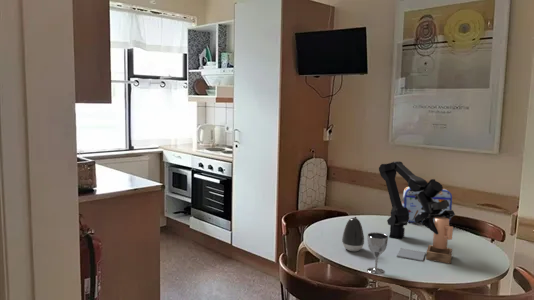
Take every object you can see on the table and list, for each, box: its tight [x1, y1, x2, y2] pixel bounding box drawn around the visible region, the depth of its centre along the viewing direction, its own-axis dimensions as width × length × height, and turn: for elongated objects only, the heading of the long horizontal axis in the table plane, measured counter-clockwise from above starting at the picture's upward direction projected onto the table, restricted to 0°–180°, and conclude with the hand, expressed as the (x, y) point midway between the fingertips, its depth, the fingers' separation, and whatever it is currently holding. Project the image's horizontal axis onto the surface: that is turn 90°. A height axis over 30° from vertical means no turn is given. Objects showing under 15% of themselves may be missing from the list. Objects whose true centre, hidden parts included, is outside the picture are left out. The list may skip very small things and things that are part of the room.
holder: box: [425, 244, 453, 264], centre depth 188 cm, size 10×10×4 cm
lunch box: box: [401, 186, 453, 224], centre depth 242 cm, size 28×10×22 cm, turn 78°
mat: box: [396, 247, 427, 262], centre depth 190 cm, size 11×11×1 cm
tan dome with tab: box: [432, 217, 454, 249], centre depth 185 cm, size 9×6×13 cm
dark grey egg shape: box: [341, 216, 365, 252], centre depth 195 cm, size 10×10×15 cm
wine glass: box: [366, 232, 389, 275], centre depth 171 cm, size 8×8×15 cm
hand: (443, 233), depth 185 cm, fingers closed on tan dome with tab, 6 cm apart
